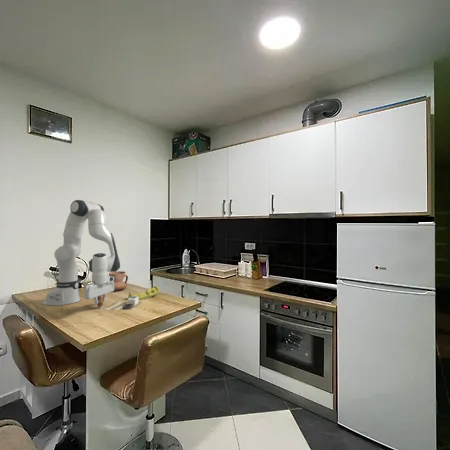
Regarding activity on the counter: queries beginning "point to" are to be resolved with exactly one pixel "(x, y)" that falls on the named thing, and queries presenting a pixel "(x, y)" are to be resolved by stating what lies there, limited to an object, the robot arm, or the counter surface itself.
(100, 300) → the brown rounded cylinder
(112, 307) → the beige flat block
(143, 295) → the plastic component
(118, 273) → the ceramic jug
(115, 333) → the counter surface
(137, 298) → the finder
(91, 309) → the counter surface
